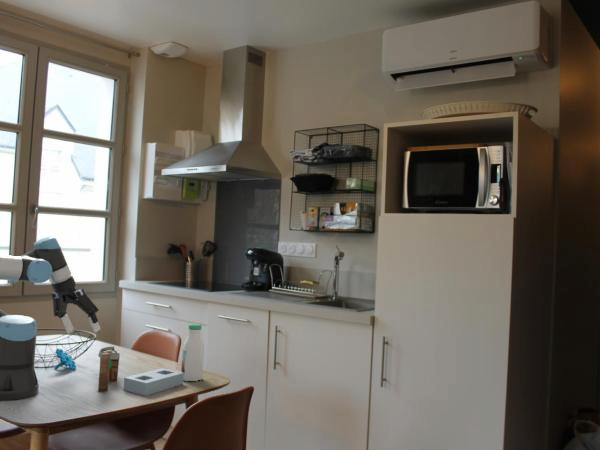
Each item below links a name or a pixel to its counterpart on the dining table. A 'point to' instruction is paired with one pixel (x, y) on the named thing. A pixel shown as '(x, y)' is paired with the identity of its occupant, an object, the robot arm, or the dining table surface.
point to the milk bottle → (193, 354)
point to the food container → (112, 362)
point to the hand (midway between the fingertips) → (84, 331)
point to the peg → (104, 372)
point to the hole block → (153, 381)
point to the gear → (65, 360)
